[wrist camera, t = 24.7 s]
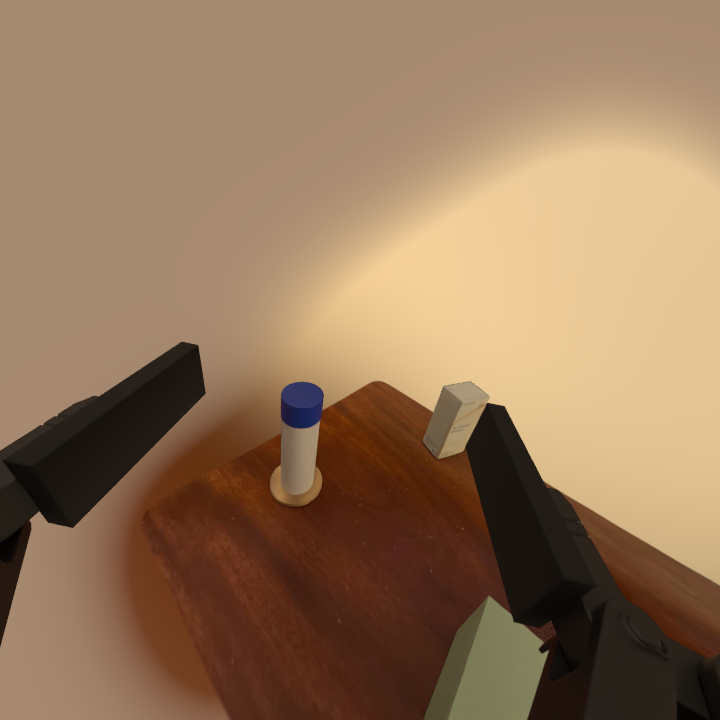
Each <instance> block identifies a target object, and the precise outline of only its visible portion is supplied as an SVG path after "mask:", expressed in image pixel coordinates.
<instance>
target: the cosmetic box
mask: <svg viewBox="0 0 720 720" xmlns="http://www.w3.org/2000/svg"><path fill="white" fill-rule="evenodd" d="M489 398H490V397H489V395H487V394H486V393H485V392H484V391H482V390H481V389H480V388H479V387H477V386H476V385H475V384H474V383H472V382H471V381H470V382H463V383H457V384H452V385H448V386H443V389H442V391H441V394H440V397H439V399H438V402H437V404H436V407H435V410H434V412H433V415H432V418H431V420H430V423H429V425H428V428H427V431H426V433H425V436H424V438H423V443H424V444H425V445H426V447H427V448H428V449H429V450H430V452H431V453H432V454H433V455H434V456H435V457H436V459H441V458H444V457H448V456H451V455H454V454H457V453H460V452H463V451H464V449H465V446H466V444H467V442H468V440H469V438H470V436H471V434H472V432H473V430H474V428H475V426H476V424H477V422H478V420H479V418H480V416H481V414H482V412H483V410H484V408H485V406H486V404H487V402H488V400H489Z"/></svg>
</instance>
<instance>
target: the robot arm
mask: <svg viewBox="0 0 720 720" xmlns="http://www.w3.org/2000/svg"><path fill="white" fill-rule="evenodd" d="M205 393H206V392H205V386H204V379H203V373H202V366H201V360H200V354H199V347H198V345H195V344H190V343H185V342H181V343H179V344H178V345H176V346H175V347H173V348H172V349H170V350H169V351H167V352H166V353H164V354H163V355H161V356H160V357H158V358H156V359H155V360H154V361H152V362H150V363H149V364H147V365H146V366H144V367H143V368H141V369H140V370H138V371H137V372H135V373H134V374H132V375H131V376H130V377H128V378H126V379H125V380H123V381H122V382H120V383H119V384H118V385H116V386H114V387H113V388H111V389H110V390H108V391H107V392H105V393H104V394H102V395H101V396H99V397H98V396H92V397H90V398H87V399H85V400H83V401H80V402H77V403H75V404H73V405H72V406H70V407H68V408H67V409H65V410H64V411H62V412H61V413H59V414H58V416H57V417H53V418H51V419H50V420H48V421H46V422H45V423H44V425H42V426H41V425H40V426H38V427H37V428H35V429H34V430H32V431H31V432H29V433H27V434H26V435H24V436H23V437H21V438H19V439H18V440H16V441H15V442H13V443H12V444H10V445H8V446H7V447H5V448H4V449H2V450H1V451H0V645H1V642H2V638H3V634H4V631H5V627H6V623H7V619H8V616H9V611H10V608H11V604H12V600H13V596H14V593H15V589H16V585H17V582H18V578H19V574H20V570H21V566H22V563H23V559H24V555H25V551H26V548H27V544H28V540H29V536H30V532H31V522H30V521H29V520H30V519H31V518H32V517H33V516H34V515H35V514H37V513H38V512H39V511H40V512H41V514H42V515H43V516H44V518H45V519H46V520H47V522H48V523H53V524H57V525H62V526H67V527H71V528H73V527H74V526H75V525H76V524H77V523H78V522H79V521H80V520H81V519H82V518H83V517H84V516H85V515H86V514H87V513H88V512H89V511H90V510H91V509H92V508H93V507H94V506H95V505H96V504H97V503H98V502H99V501H100V500H101V499H102V498H103V497H104V496H105V495H106V494H107V493H108V492H109V491H110V490H111V489H112V488H113V487H114V486H115V485H116V484H117V483H118V482H119V481H120V479H122V478H123V476H125V475H126V474H127V473H128V471H130V470H131V469H132V467H133V466H134V465H135V464H136V463H137V462H138V461H139V460H140V459H141V458H142V457H143V456H144V455H145V454H146V453H147V452H148V451H149V450H150V449H151V448H152V447H153V446H154V445H155V444H156V443H157V442H158V441H159V440H160V439H161V438H162V437H163V436H164V435H165V434H166V433H167V432H168V431H169V430H170V429H171V428H172V427H173V426H174V425H175V424H176V423H177V422H178V421H179V420H180V419H181V418H182V417H183V416H184V415H185V414H186V413H187V412H188V411H189V410H190V409H191V408H192V407H193V406H194V405H195V404H196V403H197V402H198V401H199V400H200V399H201V398H202V397H203V396H204V395H205ZM465 447H466V450H467V454H468V458H469V461H470V465H471V468H472V472H473V476H474V479H475V483H476V487H477V490H478V494H479V497H480V501H481V505H482V508H483V512H484V516H485V519H486V523H487V526H488V530H489V534H490V537H491V541H492V545H493V548H494V552H495V556H496V559H497V563H498V566H499V570H500V574H501V577H502V581H503V585H504V588H505V592H506V595H507V599H508V603H509V606H510V610H511V614H512V617H513V621H514V623H519V624H524V625H528V626H533V627H538V628H541V627H543V626H544V625H545V624H547V623H548V622H549V621H551V620H552V623H553V625H554V628H555V631H556V634H557V635H555V636H554V637H552V638H551V639H549V640H548V641H546V642H545V643H543V644H542V645H541V647H540V648H539V651H540V652H541V653H542V654H543V653H545V652H546V651H548V650H549V651H548V654H547V658H546V661H545V664H544V667H543V671H542V674H541V677H540V680H539V683H538V687H537V690H536V693H535V696H534V699H533V703H532V706H531V709H530V712H529V716H528V719H527V720H720V654H717V655H715V656H712V657H710V658H705V657H703V656H701V655H700V654H698V653H696V652H694V651H692V650H690V649H688V648H687V647H685V646H683V645H681V644H679V643H677V642H675V641H674V640H672V639H670V638H668V637H666V635H665V634H664V633H663V631H662V630H661V629H660V628H659V626H658V625H657V624H656V623H655V621H654V620H653V619H652V618H651V617H649V616H648V615H647V614H646V613H645V612H644V611H643V610H642V609H641V608H639V607H637V606H636V605H634V604H633V603H631V602H630V601H628V600H626V599H625V597H624V596H623V594H622V593H621V591H620V589H619V587H618V586H617V584H616V582H615V580H614V579H613V577H612V575H611V573H610V572H609V570H608V568H607V566H606V565H605V563H604V561H603V559H602V558H601V556H600V554H599V552H598V551H597V549H596V547H595V545H594V544H593V542H592V540H591V539H590V538H589V537H588V533H587V531H586V530H585V528H584V526H583V525H582V524H581V523H580V522H581V521H580V519H579V517H578V516H577V514H576V512H575V510H574V508H573V507H572V505H571V504H570V503H569V502H568V501H567V499H566V498H565V497H564V496H563V495H562V494H561V493H560V492H559V491H558V490H556V489H551V488H546V486H545V484H544V482H543V480H542V478H541V476H540V474H539V472H538V470H537V468H536V466H535V464H534V462H533V460H532V459H531V457H530V455H529V453H528V451H527V449H526V447H525V445H524V443H523V441H522V439H521V438H520V436H519V434H518V432H517V430H516V428H515V426H514V424H513V422H512V420H511V418H510V416H509V415H508V412H507V410H506V408H505V406H501V405H495V404H490V403H487V404H486V406H485V408H484V410H483V412H482V414H481V416H480V418H479V420H478V422H477V424H476V426H475V428H474V430H473V432H472V434H471V436H470V438H469V440H468V442H467V444H466V446H465Z"/></svg>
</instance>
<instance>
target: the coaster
mask: <svg viewBox="0 0 720 720" xmlns="http://www.w3.org/2000/svg"><path fill="white" fill-rule="evenodd" d="M321 486H322V475H321V472H320V471H319V469H318V468H317V467H316V466H315V471H314V480H313V484H312V486H311V488H310V489H309V490H308V491H306V492H305V493H303V494H299V495H293V494H289V493H287V492H286V491H284V489H283V488H282V486H281V465H280V466H279V467H277V468H276V470H275V471H274V472H273V474H272V476H271V479H270V491H271V494H272V496H273V497H274V499H275V500H276V501H277V502H279V503H280V504H282V505H285V506H289V507H299V506H303V505H306V504H308V503H309V502H311V501H312V500H314V499H315V498H316V496H317V495H318V494H319V492H320V490H321Z"/></svg>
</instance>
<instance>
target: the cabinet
mask: <svg viewBox="0 0 720 720" xmlns="http://www.w3.org/2000/svg"><path fill="white" fill-rule="evenodd" d="M543 643H544V642H543V641H542V640H540V639H539V638H538V637H537V636H536V635H534V634H533V633H532V632H531V631H530V630H529V629H527V628H526V627H525V626H524V625H523V624H519V623H514V621H513V617H512V615H511V614H510V613H509V612H507V611H506V610H505V609H504V608H503V607H502V606H500V605H499V604H498V603H497V602H496V601H495V600H493V599H492V598H491V597H490V596H488V597H487V598H486V599H485V601H484V602H483V603H482V604H481V605H480V606H479V607H478V608H477V609H476V611H475V612H474V613H473V614H472V615H471V616H470V617H469V618H468V619H467V620H466V621H465V623H464V624H463V625H462V626H461V627H460V628H459V629H458V630H457V632H456V635H455V638H454V640H453V643H452V646H451V648H450V651H449V653H448V656H447V659H446V661H445V664H444V666H443V669H442V672H441V674H440V677H439V679H438V682H437V685H436V687H435V690H434V692H433V695H432V698H431V700H430V703H429V705H428V708H427V711H426V713H425V716H424V719H423V720H527V719H528V716H529V712H530V709H531V706H532V703H533V699H534V696H535V693H536V690H537V687H538V683H539V680H540V677H541V674H542V671H543V667H544V664H545V661H546V658H547V654H548V651H549V650H548V651H546V652H545V653H543V654H542V653H541V652H540V651H539V648H540V647H541V645H542V644H543Z"/></svg>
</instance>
